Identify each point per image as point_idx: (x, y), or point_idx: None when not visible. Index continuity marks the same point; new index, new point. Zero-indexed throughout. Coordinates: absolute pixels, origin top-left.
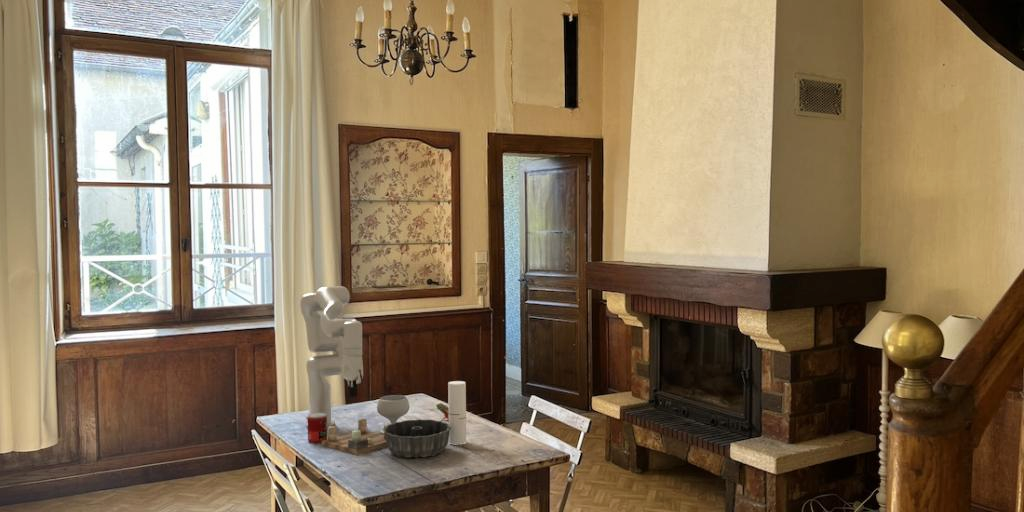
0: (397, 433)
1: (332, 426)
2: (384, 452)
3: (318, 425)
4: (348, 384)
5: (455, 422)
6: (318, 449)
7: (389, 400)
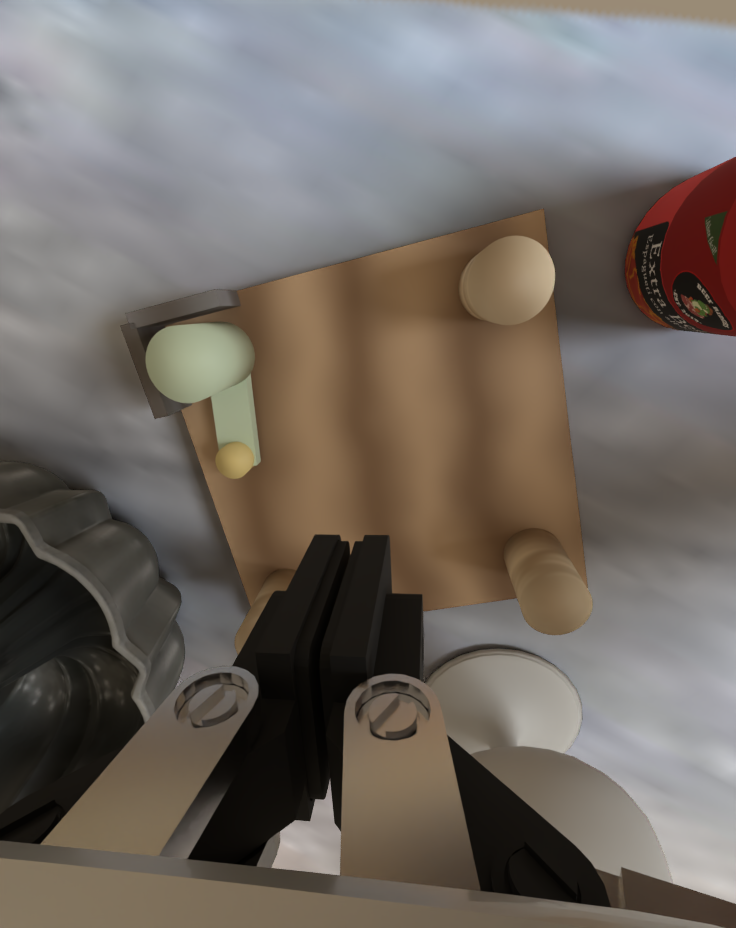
0: (164, 620)
1: (537, 299)
2: (135, 467)
3: (706, 207)
4: (409, 723)
5: None
6: (464, 149)
7: None
